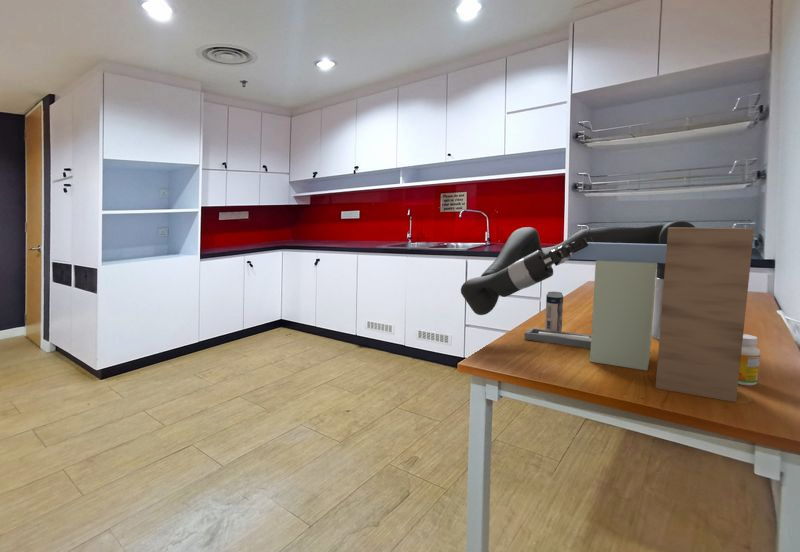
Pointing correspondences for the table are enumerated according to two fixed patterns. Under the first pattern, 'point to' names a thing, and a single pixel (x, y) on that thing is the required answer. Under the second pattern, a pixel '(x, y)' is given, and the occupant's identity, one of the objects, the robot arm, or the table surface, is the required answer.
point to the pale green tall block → (623, 313)
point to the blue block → (622, 252)
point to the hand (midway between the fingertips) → (589, 240)
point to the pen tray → (557, 338)
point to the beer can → (554, 311)
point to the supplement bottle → (749, 361)
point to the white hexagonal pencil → (567, 336)
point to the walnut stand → (704, 310)
